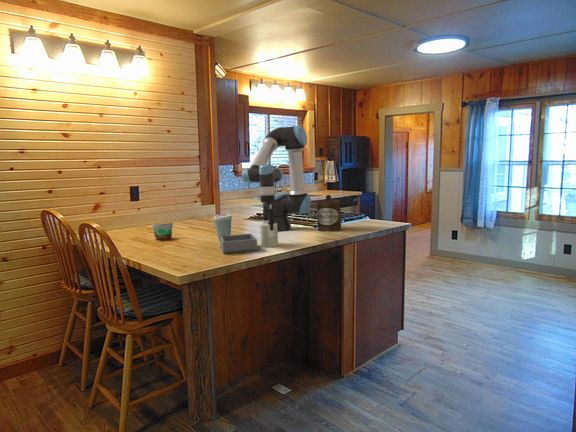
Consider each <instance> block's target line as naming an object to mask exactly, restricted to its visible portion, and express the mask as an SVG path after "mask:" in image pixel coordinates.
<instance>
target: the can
mask: <svg viewBox="0 0 576 432" xmlns="http://www.w3.org/2000/svg"><path fill="white" fill-rule="evenodd" d="M259 227H260V247H263V248H274V247H275V248H276V247H278V246H279V237H278V236H279V234H278V231H277V223H274V237H269V225H268V223H264V222H263V223H260V225H259Z"/></svg>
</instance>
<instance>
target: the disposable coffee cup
mask: <svg viewBox="0 0 576 432" xmlns="http://www.w3.org/2000/svg"><path fill="white" fill-rule="evenodd" d="M232 218H233V217H232V214H230V213H220V214H216V215H214V217H213V219H212V220H213V222H214V227H215V231H216V235H217V238H218V241H219V242H220V236H228V235H232Z"/></svg>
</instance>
